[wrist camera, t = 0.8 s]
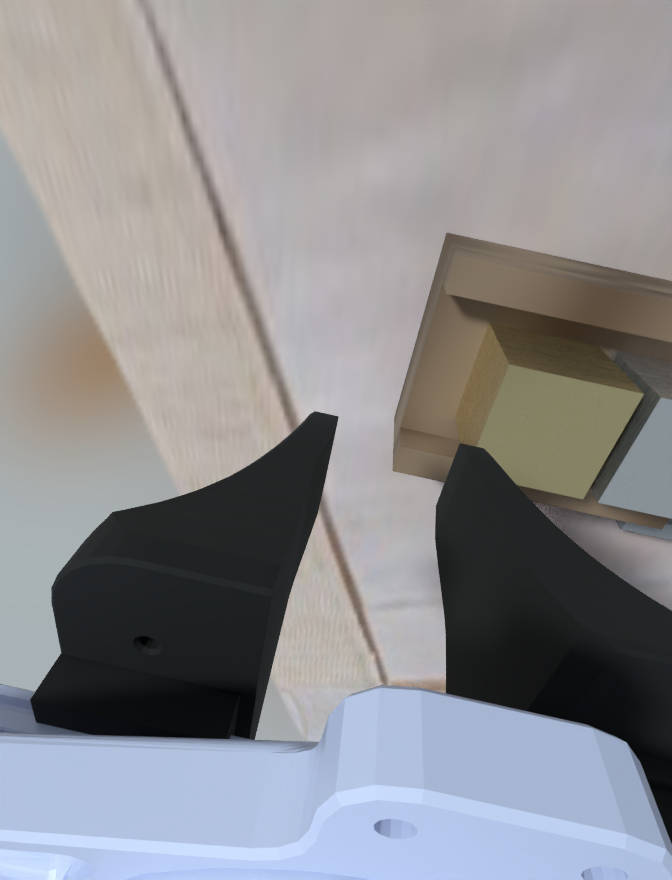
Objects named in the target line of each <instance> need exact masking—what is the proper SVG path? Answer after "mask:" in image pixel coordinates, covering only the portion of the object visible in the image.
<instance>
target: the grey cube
mask: <svg viewBox="0 0 672 880" xmlns="http://www.w3.org/2000/svg"><path fill="white" fill-rule="evenodd" d="M608 357H609V358H610V359H611V360H612V361H613V362H614V363H615V364H616V365H617V366H618V367H619V368H620V369H621V370H622V371H623V372H624V373H625V374H626V375H627V376H628V378H629V379H630V380H631V381H632V382H633V383H634V384H635V385H636V386H637V387H638V388H639V389H640V390H641V391H642V392H643V393H644V395H643V397H642V398H641V400H640V402H639V404H638V405H637V407H636V409H635V411H634V412H633V414H632V416H631V417H630V419H629V421H628V423H627V424H626V426H625V428H624V430H623V431H622V433H621V435H620V436H619V438H618V440H617V442H616V443H615V445H614V447H613V449H612V450H611V452H610V454H609V455H608V457H607V459H606V461H605V462H604V464H603V466H602V468H601V469H600V471H599V473H598V474H597V476H596V478H595V480H594V481H593V483H592V485H591V487H590V489H591V491H592V493H593V495H594V497H595V499H596V500H597V502H598V503H602V504H606V505H611V506H615V507H620V508H624V509H629V510H634V511H638V512H643V513H647V514H652V515H657V516H661V517H666V518H670V519H672V361H667V360H663V359H658V358H653V357H649V356H644V355H640V354H635V353H630V352H626V351H621V350H616V349H611V351H610V352H609V354H608Z"/></svg>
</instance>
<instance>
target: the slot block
mask: <svg viewBox="0 0 672 880" xmlns="http://www.w3.org/2000/svg"><path fill="white" fill-rule="evenodd" d="M489 322H492V323H496V324H501V325H506V326H510V327H515V328H520V329H524V330H529V331H533V332H538V333H543V334H547V335H552V336H556V337H561V338H566V339H570V340H575V341H580V342H584V343H589V344H593V345H598V346H599V347H600V348H601V349H602V350H603V351H604V352H605V353H606V354H607V356H608V354H609V352H610V351H611V349H616V350H621V351H626V352H630V353H635V354H640V355H644V356H649V357H653V358H658V359H663V360H667V361H672V281H668V280H663V279H659V278H654V277H649V276H645V275H640V274H636V273H631V272H626V271H622V270H617V269H612V268H608V267H603V266H598V265H594V264H589V263H585V262H580V261H575V260H571V259H566V258H561V257H557V256H552V255H547V254H543V253H538V252H534V251H529V250H524V249H520V248H515V247H510V246H506V245H501V244H496V243H492V242H487V241H483V240H478V239H473V238H469V237H464V236H459V235H455V234H450V233H447V234H446V237H445V241H444V244H443V248H442V251H441V255H440V258H439V262H438V265H437V269H436V272H435V276H434V280H433V283H432V287H431V290H430V294H429V297H428V301H427V304H426V308H425V311H424V315H423V318H422V322H421V326H420V329H419V333H418V336H417V340H416V343H415V347H414V350H413V354H412V357H411V361H410V365H409V368H408V372H407V375H406V379H405V382H404V386H403V389H402V393H401V396H400V400H399V403H398V407H397V411H396V414H395V419H394V448H393V471H395V472H400V473H404V474H409V475H413V476H418V477H423V478H427V479H432V480H436V481H441V482H445V481H446V478H447V476H448V473H449V470H450V468H451V465H452V462H453V460H454V457H455V454H456V452H457V449H458V446H459V444H460V441H459V435H458V430H457V425H456V419H455V416H456V413H457V410H458V407H459V404H460V402H461V399H462V396H463V393H464V390H465V388H466V385H467V382H468V379H469V377H470V374H471V371H472V368H473V365H474V363H475V360H476V357H477V354H478V351H479V349H480V346H481V343H482V340H483V337H484V335H485V332H486V329H487V326H488V323H489ZM517 486H518V487H519V488H520V489H521V490H522V492H523V493H524V494H525V495H526V496H527V497H528V498H529V499H530V500H531V501H532V502H537V503H542V504H546V505H551V506H555V507H560V508H564V509H569V510H574V511H578V512H583V513H587V514H592V515H596V516H601V517H606V518H610V519H615V520H619V521H624V522H629V523H633V524H638V525H642V526H647V527H651V528H656V529H661V530H662V529H663V527H664V526H665V525H666V523H667V522H668V520H669V519H670V518H666V517H661V516H657V515H652V514H647V513H643V512H638V511H634V510H629V509H624V508H620V507H615V506H611V505H606V504H602V503H598V502H597V500H596V499H595V497H594V495H593V493H592V491H591V489H590V488H589V490H588V492H587V493H586V495H585V497H584V499H579V498H574V497H570V496H565V495H560V494H556V493H551V492H547V491H542V490H537V489H533V488H528V487H524V486H519V485H517Z"/></svg>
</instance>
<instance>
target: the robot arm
mask: <svg viewBox="0 0 672 880" xmlns="http://www.w3.org/2000/svg"><path fill="white" fill-rule="evenodd" d="M337 422H338V416H334V415H329V414H324V413H320V412H313V413H311V414H310V415H309V416H308V417H307V418H306V419H305V421H304V422H303V423H302V424H301V425H300V426H299V427H298V428H297V429H296V430H295V431H293V432H292V433H291V434H290V435H289V436H288V437H287V438H285V439H284V440H283V441H282V442H281V443H280V444H278V445H277V446H276V447H275V448H273V449H272V450H270V451H269V452H268V453H266V454H265V455H264V456H262V457H261V458H259V459H258V460H257V461H255V462H253V463H252V464H250V465H249V466H247V467H245V468H244V469H242V470H240V471H239V472H237V473H235V474H233V475H231V476H229V477H227V478H225V479H223V480H220V481H218V482H216V483H214V484H211V485H209V486H207V487H204V488H202V489H199V490H197V491H194V492H191V493H188V494H185V495H182V496H179V497H175V498H172V499H169V500H165V501H162V502H158V503H154V504H149V505H145V506H140V507H135V508H131V509H126V510H121V511H116V512H112V513H111V514H110V515H109V517H108V518H107V519H106V520H105V521H104V522H103V523H101V524H100V525H99V526H98V527H97V528H96V529H95V530H94V531H93V532H92V533H91V535H90V536H89V537H88V538H87V539H86V540H85V541H84V543H83V544H82V545H81V546H80V547H79V549H78V550H77V551H76V552H75V554H74V555H73V556H72V557H71V559H70V560H69V561H68V563H67V564H66V565H65V566H64V567H63V569H62V570H61V571H60V572H59V574H58V575H57V577H56V580H55V582H54V584H53V586H52V607H53V612H54V617H55V622H56V628H57V632H58V638H59V643H60V648H61V654H60V656H59V657H58V659H57V660H56V662H55V663H54V665H53V666H52V668H51V669H50V671H49V672H48V674H47V675H46V677H45V678H44V680H43V681H42V683H41V684H40V686H39V687H38V689H37V690H36V692H35V691H30V690H25V689H21V688H16V687H11V686H7V685H3V684H0V880H672V611H671V610H669V609H668V608H666V607H664V606H663V605H661V604H659V603H658V602H656V601H654V600H653V599H651V598H650V597H648V596H646V595H645V594H643V593H642V592H640V591H639V590H637V589H636V588H634V587H633V586H631V585H630V584H628V583H627V582H625V581H624V580H623V579H621V578H620V577H618V576H617V575H616V574H614V573H613V572H612V571H610V570H609V569H607V568H606V567H605V566H603V565H602V564H601V563H599V562H598V561H597V560H595V559H594V558H593V557H591V556H590V555H589V554H588V553H586V552H585V551H584V550H583V549H582V548H581V547H579V546H578V545H577V544H576V543H575V542H573V541H572V540H571V539H570V538H569V537H568V536H566V535H565V534H564V533H563V532H562V531H561V530H560V529H559V528H558V527H557V526H555V525H554V524H553V523H552V522H551V521H550V520H549V519H548V518H547V517H546V516H545V515H544V514H543V513H542V512H541V511H540V510H539V509H538V508H537V507H536V506H535V505H534V503H533V502H532V501H531V500H530V499H529V498H528V497H527V496H526V495H525V494H524V493H523V492H522V490H521V489H520V488H519V487H518V486H517V485H516V484H515V483H514V481H513V480H512V479H511V478H510V477H509V476H508V474H507V473H506V472H505V471H504V470H503V469H502V467H501V466H500V465H499V464H498V463H497V462H496V461H495V459H494V458H493V457H492V456H491V455H490V454H489V453H488V452H487V451H486V450H485V449H484V448H480V447H476V446H471V445H467V444H462V443H460V444H459V446H458V449H457V452H456V454H455V457H454V460H453V462H452V465H451V468H450V470H449V473H448V476H447V478H446V481H445V484H444V486H443V489H442V492H441V494H440V497H439V500H438V502H437V505H436V527H435V540H436V550H437V558H438V567H439V575H440V583H441V591H442V599H443V607H444V615H445V629H446V693H441V692H437V691H432V690H428V689H423V688H419V687H403V686H387V685H381V686H377V687H374V688H370V689H367V690H364V691H360V692H357V693H353V694H351V695H349V696H347V697H346V698H345V699H344V700H343V701H342V702H341V703H340V704H339V705H338V706H337V707H336V709H335V710H334V711H333V712H332V713H331V714H330V715H329V717H328V720H327V723H326V726H325V729H324V733H323V736H322V738H321V740H320V742H303V741H271V740H255V736H256V731H257V727H258V723H259V719H260V714H261V710H262V706H263V702H264V698H265V694H266V689H267V685H268V681H269V677H270V673H271V669H272V664H273V660H274V656H275V652H276V648H277V644H278V640H279V635H280V631H281V627H282V623H283V619H284V615H285V611H286V607H287V603H288V598H289V595H290V592H291V588H292V585H293V582H294V579H295V576H296V573H297V571H298V568H299V565H300V562H301V559H302V556H303V554H304V551H305V548H306V545H307V542H308V539H309V537H310V534H311V531H312V528H313V525H314V522H315V519H316V517H317V514H318V510H319V505H320V501H321V496H322V492H323V488H324V483H325V479H326V474H327V469H328V464H329V460H330V455H331V450H332V445H333V441H334V436H335V431H336V427H337Z"/></svg>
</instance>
